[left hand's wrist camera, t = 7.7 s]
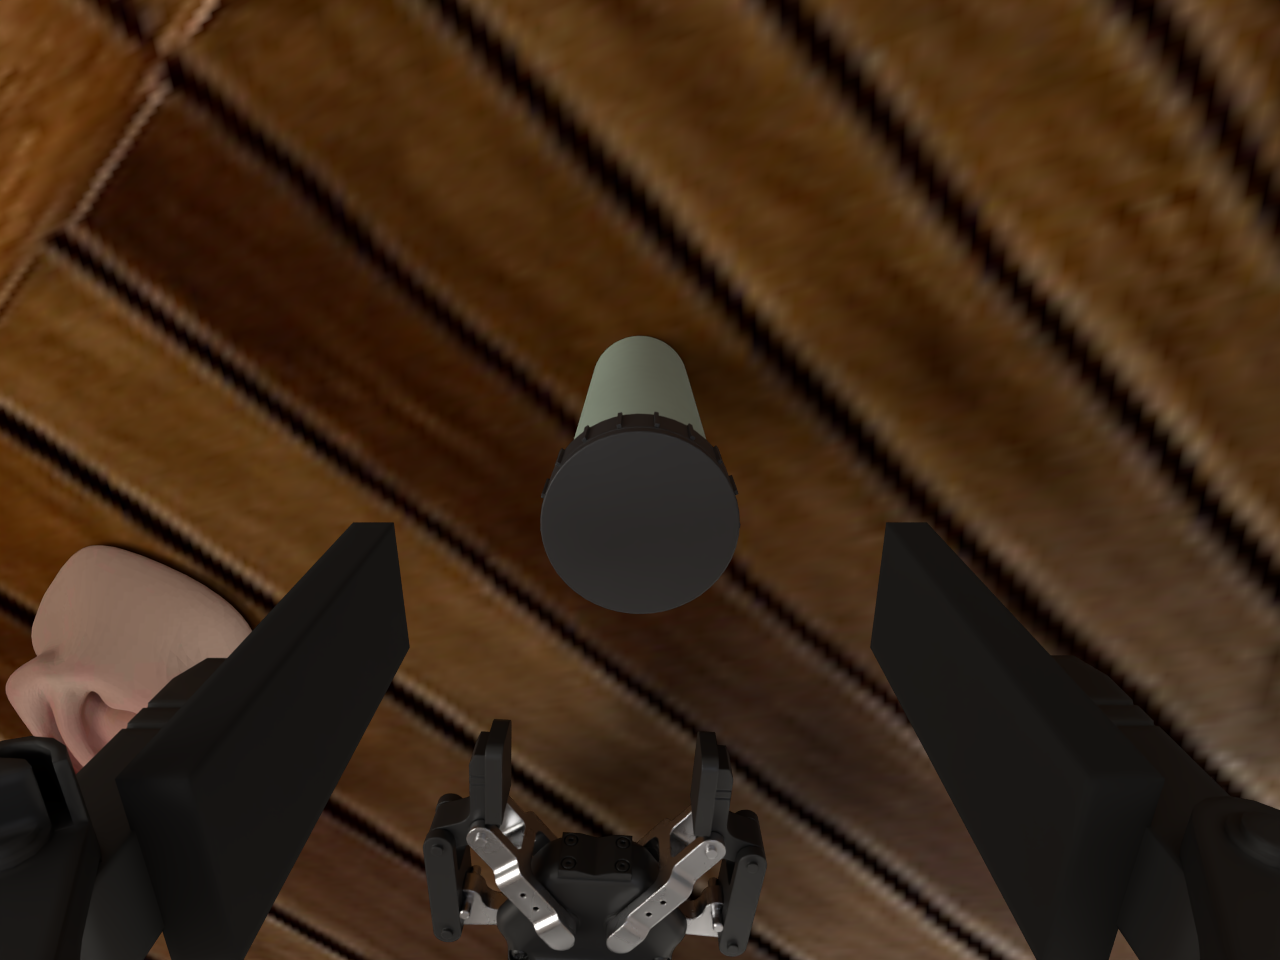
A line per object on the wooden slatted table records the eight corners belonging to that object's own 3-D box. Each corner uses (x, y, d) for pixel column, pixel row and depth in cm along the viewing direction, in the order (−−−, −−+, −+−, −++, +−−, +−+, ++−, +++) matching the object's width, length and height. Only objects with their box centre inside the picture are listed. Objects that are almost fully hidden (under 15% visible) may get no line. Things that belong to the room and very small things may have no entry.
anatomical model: (-49, 567, 29) (242, 627, 30) (30, 527, 33) (286, 581, 34) (-26, 817, 34) (226, 862, 34) (40, 756, 37) (267, 798, 38)
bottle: (574, 393, 31) (521, 536, 17) (629, 316, 30) (619, 402, 16) (650, 446, 32) (658, 623, 18) (706, 373, 31) (760, 502, 17)
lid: (508, 520, 18) (497, 547, 17) (617, 370, 17) (615, 385, 15) (659, 616, 19) (660, 650, 18) (772, 481, 18) (784, 505, 16)
